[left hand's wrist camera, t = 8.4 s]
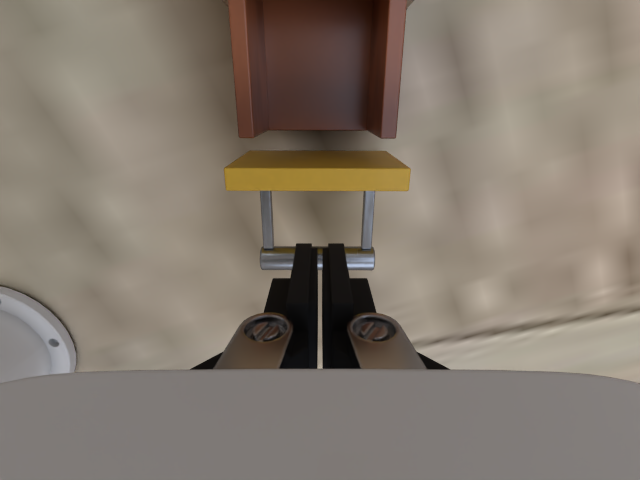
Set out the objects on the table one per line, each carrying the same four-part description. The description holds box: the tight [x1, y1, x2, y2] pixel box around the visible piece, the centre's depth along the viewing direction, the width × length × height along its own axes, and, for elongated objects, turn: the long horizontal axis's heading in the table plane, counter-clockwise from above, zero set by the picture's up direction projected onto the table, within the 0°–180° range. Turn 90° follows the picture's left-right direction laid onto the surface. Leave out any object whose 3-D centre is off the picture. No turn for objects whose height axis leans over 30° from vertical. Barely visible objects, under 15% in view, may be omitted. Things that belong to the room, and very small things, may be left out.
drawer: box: [224, 0, 411, 270], centre depth 19 cm, size 24×10×7 cm, turn 0°
